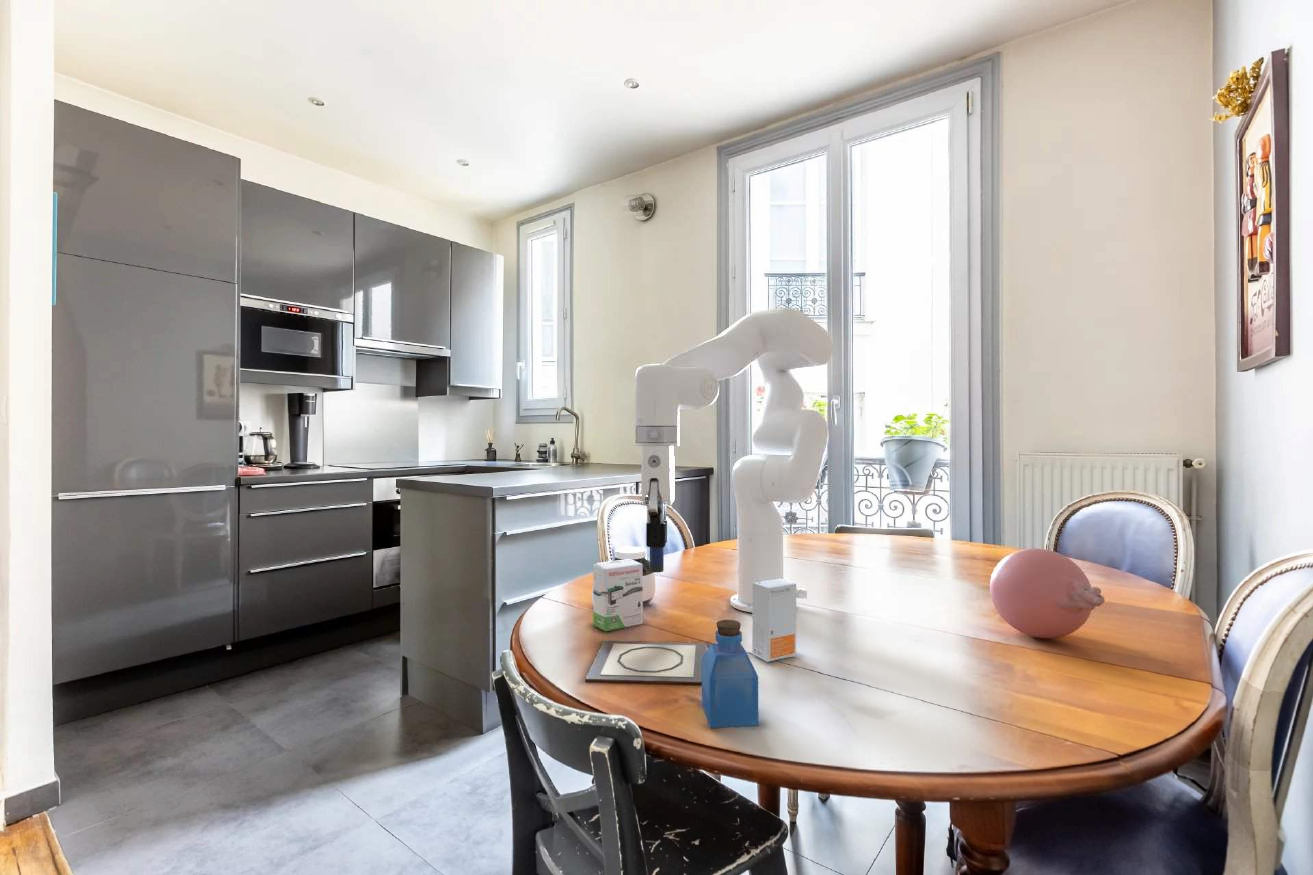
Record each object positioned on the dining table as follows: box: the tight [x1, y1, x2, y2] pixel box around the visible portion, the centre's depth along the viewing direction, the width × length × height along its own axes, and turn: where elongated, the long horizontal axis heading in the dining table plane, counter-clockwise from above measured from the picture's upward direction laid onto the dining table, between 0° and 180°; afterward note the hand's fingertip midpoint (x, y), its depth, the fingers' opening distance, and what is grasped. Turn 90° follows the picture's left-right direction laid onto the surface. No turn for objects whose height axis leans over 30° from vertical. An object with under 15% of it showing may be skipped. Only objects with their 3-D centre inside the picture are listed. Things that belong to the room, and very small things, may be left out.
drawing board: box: [584, 640, 708, 686], centre depth 97 cm, size 18×16×1 cm
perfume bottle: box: [701, 619, 760, 729], centre depth 79 cm, size 6×6×12 cm
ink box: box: [592, 559, 644, 632], centre depth 115 cm, size 9×5×12 cm, turn 123°
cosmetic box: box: [751, 578, 797, 663], centre depth 99 cm, size 6×4×12 cm
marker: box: [649, 547, 665, 573], centre depth 103 cm, size 2×2×10 cm
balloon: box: [989, 547, 1106, 639], centre depth 105 cm, size 15×20×15 cm
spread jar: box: [590, 546, 657, 608], centre depth 127 cm, size 12×11×12 cm
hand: (656, 544), depth 103 cm, fingers closed on marker, 2 cm apart
